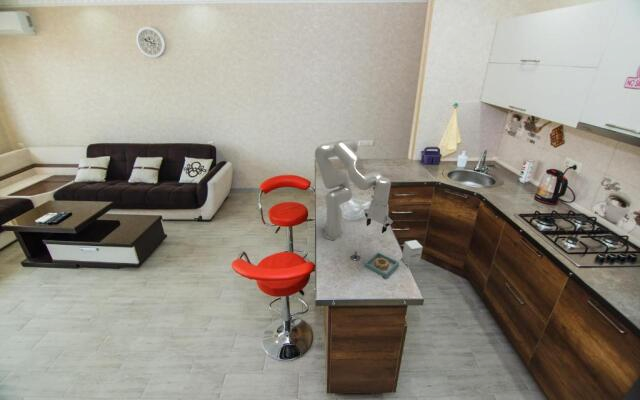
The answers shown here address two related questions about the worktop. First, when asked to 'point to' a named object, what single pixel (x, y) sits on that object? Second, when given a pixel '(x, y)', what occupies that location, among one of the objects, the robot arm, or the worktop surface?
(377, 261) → the ring
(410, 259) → the supplement box
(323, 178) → the robot arm
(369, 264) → the tray
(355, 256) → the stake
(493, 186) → the worktop surface
